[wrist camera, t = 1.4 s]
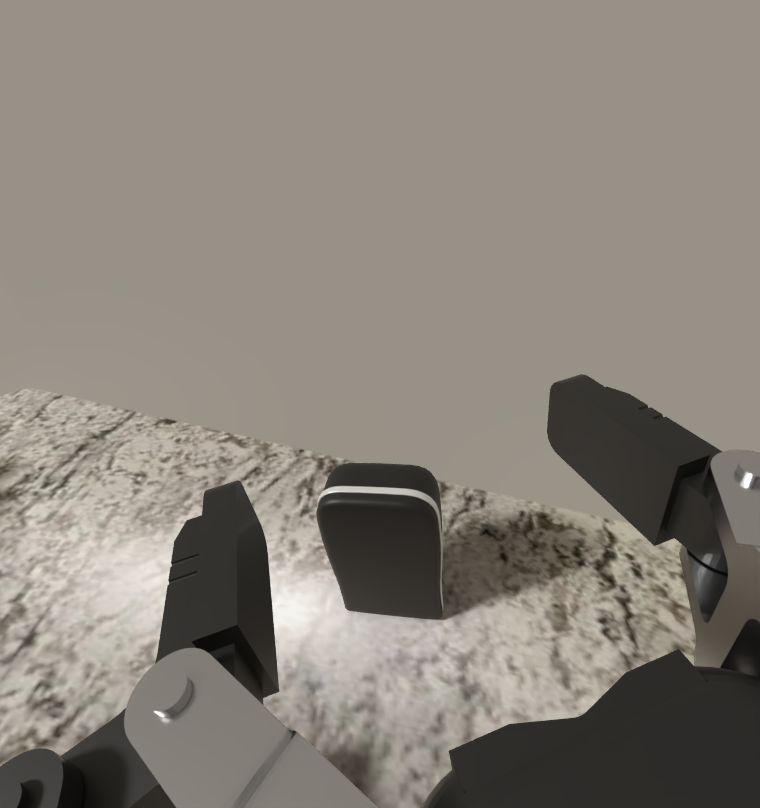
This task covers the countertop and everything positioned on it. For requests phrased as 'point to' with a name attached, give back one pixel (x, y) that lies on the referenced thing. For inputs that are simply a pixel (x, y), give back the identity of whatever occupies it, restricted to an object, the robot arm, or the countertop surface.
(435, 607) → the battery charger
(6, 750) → the countertop surface
